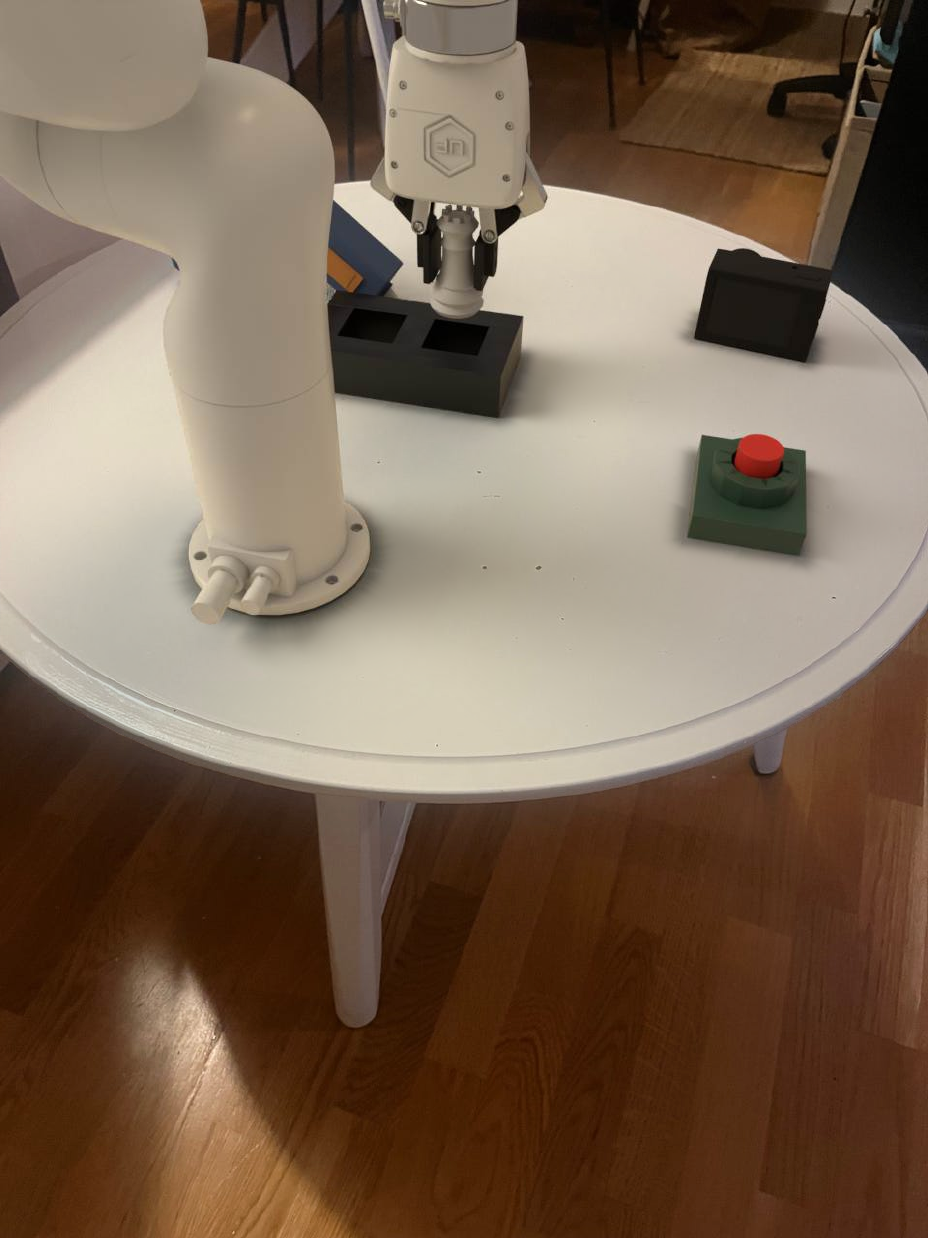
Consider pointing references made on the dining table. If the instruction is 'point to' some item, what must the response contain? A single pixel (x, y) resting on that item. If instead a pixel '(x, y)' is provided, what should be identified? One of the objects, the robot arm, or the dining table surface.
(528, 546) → the dining table surface
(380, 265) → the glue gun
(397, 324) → the holder
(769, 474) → the power button
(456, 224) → the rook chess piece
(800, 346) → the digital camera
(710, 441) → the switch box
